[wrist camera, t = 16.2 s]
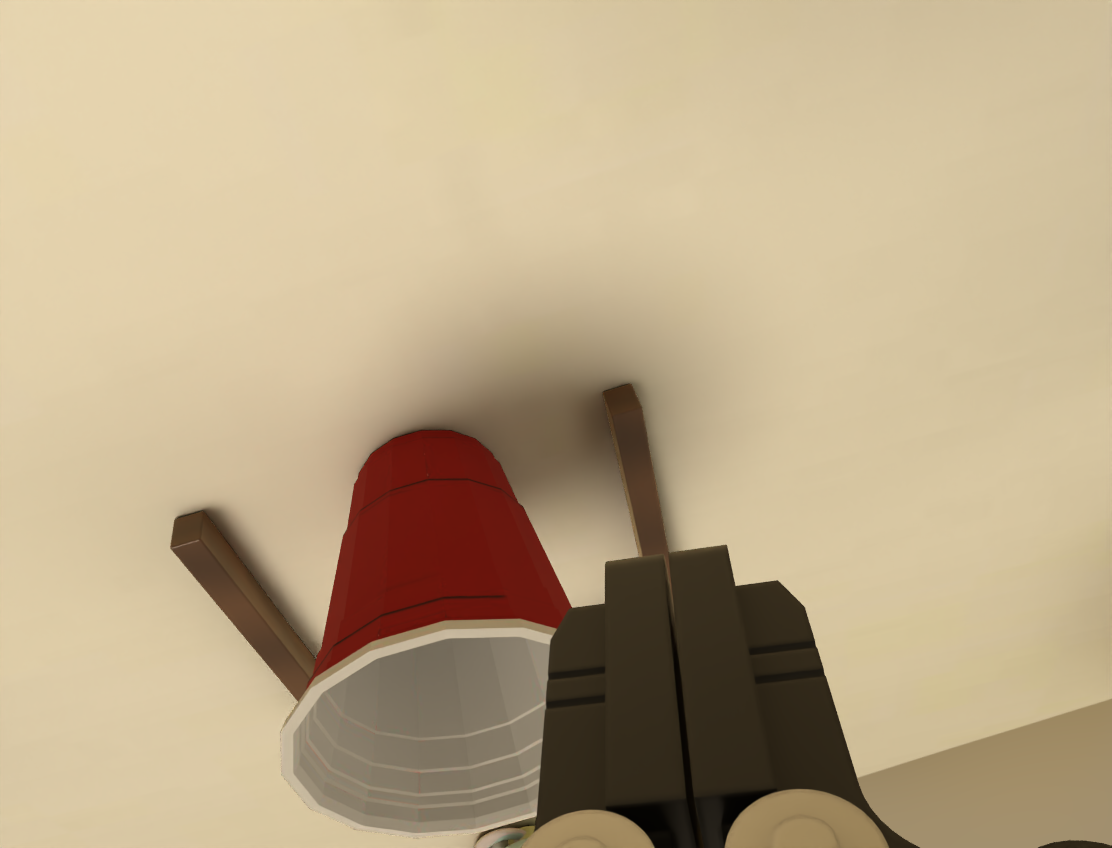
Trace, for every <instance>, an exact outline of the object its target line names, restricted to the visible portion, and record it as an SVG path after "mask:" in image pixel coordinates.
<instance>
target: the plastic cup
mask: <svg viewBox="0 0 1112 848" xmlns="http://www.w3.org/2000/svg"><path fill="white" fill-rule="evenodd" d="M569 608H572V607H571V605H570V603H569V601H568V599H567V596H566V594H565V592H564V590H563V588H562V586H561V584H560V582H559V580H558V578H557V576H556V574H555V572H554V570H553V568H552V566H551V563H550V561H549V559H548V557H547V555H546V553H545V551H544V549H543V547H542V545H541V543H540V541H539V539H538V537H537V535H536V532H535V530H534V528H533V526H532V524H531V522H530V520H529V518H528V516H527V514H526V512H525V510H524V508H523V506H522V505H520V504H519V503H518V501H517V499H516V497H515V495H514V493H513V491H512V488H511V486H510V484H509V482H508V480H507V478H506V475H505V473H504V471H503V469H502V467H501V465H500V463H499V462H498V461H497V460H496V459H495V458H494V456H493V454H492V453H491V452H490V451H489V450H488V449H487V448H486V447H484V446H483V445H482V444H481V443H480V442H479V441H477V440H476V439H475V438H472V437H469V436H466V435H463V434H460V433H457V432H454V431H451V430H421V431H417V432H414V433H411V434H407V435H404V436H400V437H397V438H394V439H392V440H391V441H389V442H388V443H386V444H385V445H383V446H382V447H381V448H379V449H378V450H376V451H375V452H373V453H372V454H371V455H370V457H369V458H368V460H367V461H366V463H365V464H364V466H363V468H362V469H361V471H360V472H359V476H358V479H357V481H356V483H355V484H354V490H353V496H352V502H351V508H350V514H349V520H348V527H347V530H346V532H345V533H344V535H343V539H342V544H341V549H340V555H339V560H338V565H337V570H336V575H335V580H334V586H333V591H332V596H331V601H330V606H329V611H328V616H327V622H326V627H325V632H324V637H323V642H322V647H321V650H320V651H319V653H318V654H317V658H316V662H315V667H314V671H313V675H312V677H311V678H310V680H309V681H308V684H307V688H306V691H305V693H304V694H303V696H302V697H301V699H300V700H299V702H298V703H297V704H296V706H295V707H294V709H293V710H292V712H291V713H290V715H289V716H288V718H287V719H286V721H285V723H284V725H283V728H282V730H281V732H280V737H281V775H282V776H283V778H284V779H285V780H286V781H287V782H288V784H289V785H290V786H291V787H292V789H293V790H294V791H295V792H296V793H297V795H298V796H299V797H300V798H301V800H302V801H303V802H304V803H305V804H306V806H307V807H308V808H309V809H311V810H313V811H315V812H318V813H320V814H322V815H324V816H326V817H329V818H331V819H333V820H335V821H337V822H339V823H342V824H344V825H346V826H348V827H350V828H353V829H355V830H359V831H366V832H374V833H381V834H388V835H395V836H402V837H409V838H424V837H436V836H449V835H461V834H474V833H479V832H483V831H486V830H490V829H493V828H497V827H500V826H504V825H507V824H511V823H514V822H518V821H521V820H525V819H528V818H532V817H535V816H537V804H538V791H539V779H540V766H541V753H542V741H543V728H544V715H545V709H546V690H547V681H548V664H549V651H550V640H551V638H552V636H553V635H554V633H555V631H556V630H557V628H558V626H559V625H560V623H561V621H562V620H563V618H564V616H565V615H566V613H567V611H568V610H569Z"/></svg>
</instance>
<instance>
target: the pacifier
mask: <svg viewBox="0 0 1112 848" xmlns="http://www.w3.org/2000/svg"><path fill="white" fill-rule="evenodd" d="M534 829H535V826H526V827H522V828H519V829H517V828H502V829H497V830H494V831H491V832H489V833H487V834H486V835H484V836H482V837H481V838H480V839H479V840H478V841H477V843H476V845H475V846H474V848H490V847H491V846H492V845H493V844H495V843H497V842H500V841H503V840H508V843H509V846H507V847H505V848H521V846H522V845H523V844H524V842H525V841H526V840H527V839H528V838H529V837H530V836H531V835H532V834H533V832H534Z"/></svg>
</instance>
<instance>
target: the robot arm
mask: <svg viewBox="0 0 1112 848" xmlns="http://www.w3.org/2000/svg"><path fill="white" fill-rule="evenodd" d="M668 556H669V567H670V576H671V585H672V593H671V587H670V582H669V577H668V571H667V566H666V561H665V557H664V554H658V555H651V556H644V557H636V558H629V559H622V560H615V561H608V562H606V564H605V604H599V605H592V606H584V607H577V608H569V610H568V611H567V613H566V615H565V616H564V618H563V620H562V621H561V623H560V625H559V626H558V628H557V630H556V631H555V633H554V635H553V636H552V638H551V640H550V651H549V664H548V681H547V690H546V709H545V715H544V728H543V741H542V753H541V766H540V779H539V791H538V804H537V817H536V823H535V829H534V832H533V834H532V835H531V836H530V837H529V838H528V839H527V840H526V841H525V842H524V844H523V845H522V846H521V848H920V847H918V846H916V845H914V844H912V843H910V842H908V841H907V840H905V839H903V838H902V837H901V836H899V835H898V834H896V833H895V832H894V831H892V830H891V829H890V828H889V827H888V826H887V825H886V824H884V823H883V822H882V821H881V820H880V819H879V818H878V816H877V815H876V814H875V813H874V812H873V811H872V809H871V808H870V806H869V804H868V803H867V801H866V800H865V798H864V796H863V794H862V791H861V789H860V786H859V783H858V781H857V777H856V773H855V770H854V767H853V764H852V760H851V757H850V754H849V751H848V747H847V744H846V741H845V738H844V734H843V731H842V728H841V724H840V721H839V718H838V715H837V711H836V708H835V705H834V702H833V698H832V695H831V692H830V688H829V685H828V682H827V679H826V676H825V675H824V669H823V666H822V662H821V659H820V656H819V652H818V649H817V647H816V645H815V639H814V636H813V633H812V630H811V626H810V623H809V620H808V617H807V613H806V610H805V607H804V606H803V605H802V604H801V603H800V602H799V601H798V600H797V599H796V598H795V597H794V596H793V595H792V594H791V593H790V592H789V591H788V590H787V589H786V588H785V587H784V586H783V585H782V584H781V583H780V582H779V581H770V582H763V583H755V584H748V585H740V586H735V582H734V577H733V572H732V567H731V563H730V558H729V553H728V548H727V545H721V546H713V547H706V548H699V549H692V550H685V551H678V552H670V553H668ZM672 595H673V598H672ZM1038 848H1112V846H1110V845H1107V844H1103V843H1097V842H1090V841H1070V840H1069V841H1061V842H1054V843H1050V844H1047V845H1044V846H1041V847H1038Z"/></svg>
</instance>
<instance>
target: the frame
mask: <svg viewBox="0 0 1112 848" xmlns="http://www.w3.org/2000/svg"><path fill="white" fill-rule="evenodd" d="M603 398H604V402H605V407H606V411H607V415H608V420H609V424H610V429H611V433H612V438H613V442H614V447H615V451H616V455H617V460H618V464H619V469H620V473H621V478H622V482H623V487H624V491H625V495H626V500H627V504H628V509H629V513H630V518H631V522H632V526H633V531H634V535H635V540H636V544H637V549H638V553H639V557H644V556H651V555H658V554H664V557H665V561H666V566H667V571H668V577H669V582H670V587H671V593H672V585H671V576H670V567H669V556H668V553H669V551H668V545H667V540H666V535H665V529H664V524H663V518H662V513H661V508H660V502H659V497H658V491H657V486H656V481H655V475H654V470H653V465H652V459H651V454H650V448H649V443H648V438H647V432H646V427H645V421H644V416H643V411H642V406H641V404H640V402H639V399H638V397H637V395H636V392H635V390H634V388H633V385H632V384H627V385H624V386H621V387H617V388H614V389H610V390H607V391H604V392H603ZM170 548H171V550H172V551H173V552H174V553H175V554H176V556H177V557H178V558H179V559H180V560H181V562H182V563H183V564H184V565H185V566H186V568H187V569H188V570H189V571H190V572H191V574H192V575H193V576H194V577H195V578H196V580H197V581H198V582H199V583H200V584H201V586H202V587H203V588H204V589H205V590H206V592H207V593H208V594H209V595H210V596H211V598H212V599H213V600H214V601H215V602H216V604H217V605H218V606H219V607H220V608H221V610H222V611H223V612H224V613H225V614H226V616H227V617H228V618H229V619H230V620H231V622H232V623H233V624H234V625H235V626H236V628H237V629H238V630H239V631H240V632H241V634H242V635H243V636H244V637H245V638H246V640H247V641H248V642H249V643H250V644H251V646H252V647H253V648H254V649H255V650H256V652H257V653H258V654H259V655H260V656H261V658H262V659H263V660H264V661H265V662H266V664H267V665H268V666H269V667H270V668H271V670H272V671H273V672H274V673H275V674H276V676H277V677H278V678H279V679H280V680H281V682H282V683H283V684H284V685H285V686H286V688H287V689H288V690H289V691H290V692H291V694H292V695H293V696H294V697H295V698H296V700H297V701H298V702H299V700H300V699H301V697H302V696H303V694H304V693H305V691H306V688H307V684H308V681H309V680H310V678H311V677H312V675H313V671H314V667H315V662H316V660H315V658H314V657H313V656H312V654H311V653H310V652H309V650H308V649H307V648H306V646H305V645H304V644H303V642H302V641H301V640H300V638H299V637H298V636H297V634H296V633H295V632H294V630H293V629H292V628H291V626H290V625H289V624H288V622H287V621H286V620H285V618H284V617H283V616H282V614H281V613H280V612H279V611H278V609H277V608H276V607H275V605H274V604H273V603H272V601H271V600H270V599H269V597H268V596H267V595H266V593H265V592H264V591H263V589H262V588H261V587H260V585H259V584H258V583H257V581H256V580H255V579H254V577H253V576H252V575H251V573H250V572H249V571H248V569H247V568H246V567H245V565H244V564H243V563H242V561H241V560H240V559H239V557H238V556H237V555H236V553H235V552H234V551H233V549H232V548H231V547H230V545H229V544H228V543H227V541H226V540H225V539H224V537H223V536H222V535H221V533H220V532H219V531H218V529H217V528H216V527H215V526H214V524H213V523H212V522H211V520H210V519H209V518H208V516H207V515H206V514H205V512H204V511H201V512H197V513H194V514H191V515H187V516H184V517H181V518H177V519H175V520H174V526H173V533H172V540H171V546H170ZM672 598H673V595H672Z"/></svg>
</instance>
